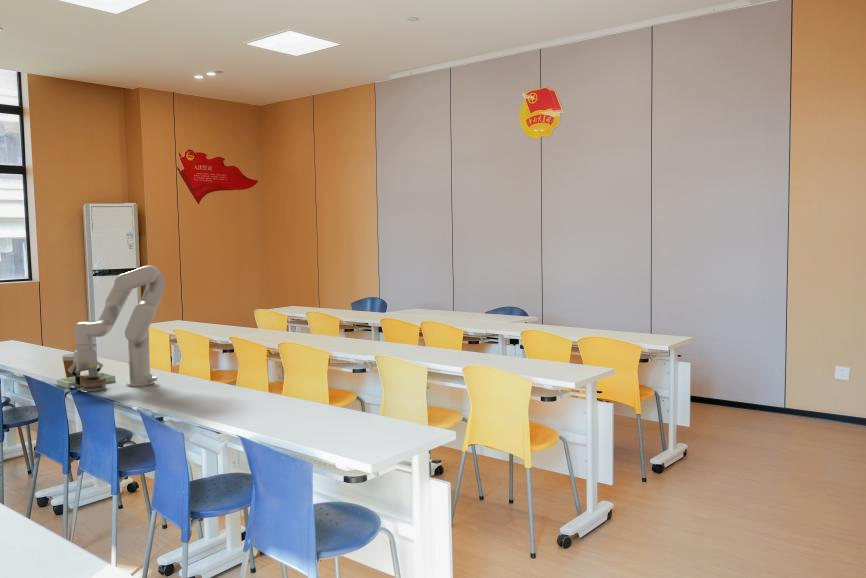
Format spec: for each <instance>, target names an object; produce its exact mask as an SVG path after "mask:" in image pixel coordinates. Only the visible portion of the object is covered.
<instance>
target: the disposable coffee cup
mask: <svg viewBox="0 0 866 578" xmlns="http://www.w3.org/2000/svg"><path fill="white" fill-rule="evenodd" d="M73 358H74V353H69V354H64V355H63V356H62V357H61V359H62V362H63V366H64V371H65V378H69V377H75V376H74V375H73V374H71V373H70V372H69V371H68V369H69V368H70V367H71V366H72V365H73ZM73 371H74V372H76V370H74V369H73ZM80 375H81V373H80V374H79V376H80Z"/></svg>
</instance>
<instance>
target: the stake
mask: <svg viewBox="0 0 866 578" xmlns="http://www.w3.org/2000/svg"><path fill="white" fill-rule="evenodd" d="M97 368H98V367H96V365H95V364H93V365H88V370H87V371H88V372H87V373H88V375H89V380H97ZM81 390H83V391H87V392H88V393H97V392H102V390H103V391H105V390H107V385H106V384H102V385H96V386H84V387H80V391H81ZM87 392H86V393H87Z"/></svg>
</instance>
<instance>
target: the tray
mask: <svg viewBox="0 0 866 578" xmlns="http://www.w3.org/2000/svg"><path fill="white" fill-rule="evenodd" d="M79 377H80V376H79ZM97 377H105V379H106V383H105V384H111V383H115V382H116V375H114V374H111V373H107V372H103V371H102V372H98V374H97ZM56 385H57V386H58V387H60V388H64V389H66V390H71V389H70V386H74V387H77V388H76V389H79V388H80V389H81V387H84V386H82V385H81V381H80V385H78V384H76V382H75V377H69V378H66V377H64V378H57V379H56Z"/></svg>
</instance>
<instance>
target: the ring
mask: <svg viewBox="0 0 866 578" xmlns="http://www.w3.org/2000/svg"><path fill="white" fill-rule="evenodd" d="M80 381H81V385H82V386H96V385H102V384H103V385H105V384H107V383H106V379H105V377H97V380H89V373H88V374H87V373H85V374H80ZM104 383H105V384H104Z"/></svg>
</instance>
